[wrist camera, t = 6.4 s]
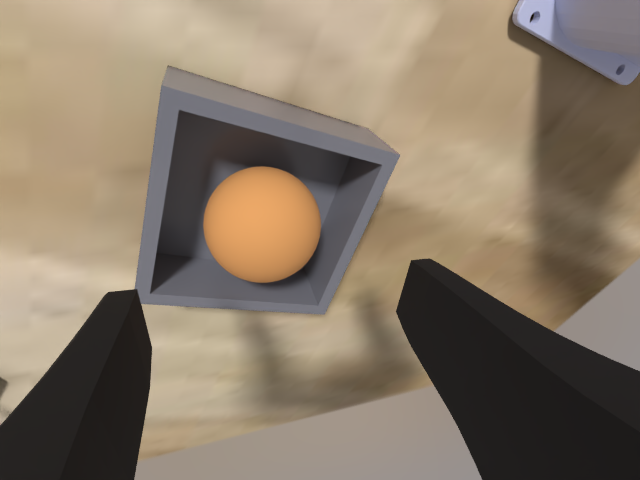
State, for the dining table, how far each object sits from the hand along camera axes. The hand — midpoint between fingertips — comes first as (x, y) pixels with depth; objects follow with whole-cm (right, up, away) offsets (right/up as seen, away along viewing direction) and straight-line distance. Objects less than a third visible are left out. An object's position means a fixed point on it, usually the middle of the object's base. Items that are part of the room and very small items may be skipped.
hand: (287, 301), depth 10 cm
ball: (-2, +4, +8) cm, 9 cm away
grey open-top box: (-2, +4, +8) cm, 10 cm away
